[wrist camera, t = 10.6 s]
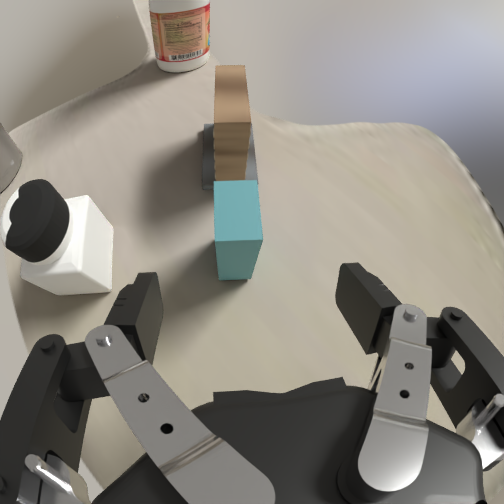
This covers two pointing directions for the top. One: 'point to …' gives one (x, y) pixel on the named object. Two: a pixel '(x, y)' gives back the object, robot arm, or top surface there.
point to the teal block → (237, 228)
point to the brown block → (229, 131)
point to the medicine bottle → (58, 240)
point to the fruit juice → (180, 33)
